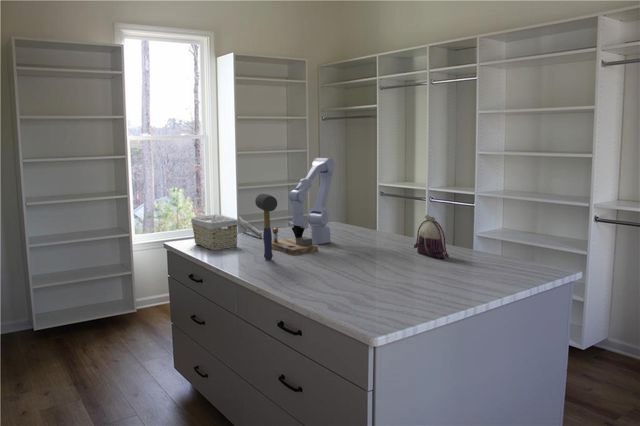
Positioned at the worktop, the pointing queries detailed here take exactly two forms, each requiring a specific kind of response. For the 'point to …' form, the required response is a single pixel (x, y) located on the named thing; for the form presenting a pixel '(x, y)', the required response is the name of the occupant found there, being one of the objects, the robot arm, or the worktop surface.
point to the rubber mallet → (267, 221)
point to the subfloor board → (292, 247)
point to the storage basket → (215, 231)
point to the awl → (275, 234)
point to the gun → (248, 228)
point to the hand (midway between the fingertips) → (298, 241)
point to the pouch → (431, 239)
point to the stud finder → (304, 241)
